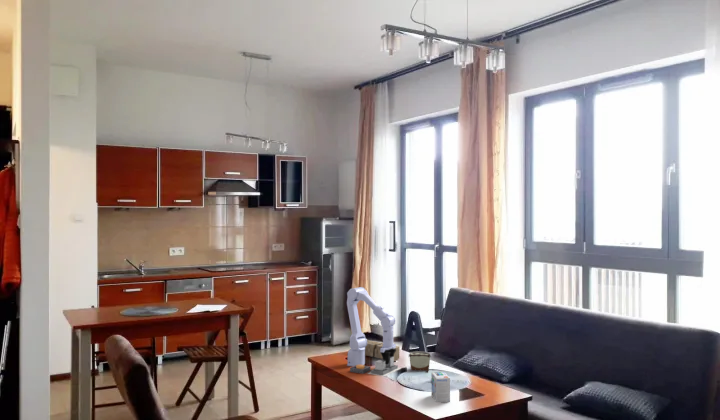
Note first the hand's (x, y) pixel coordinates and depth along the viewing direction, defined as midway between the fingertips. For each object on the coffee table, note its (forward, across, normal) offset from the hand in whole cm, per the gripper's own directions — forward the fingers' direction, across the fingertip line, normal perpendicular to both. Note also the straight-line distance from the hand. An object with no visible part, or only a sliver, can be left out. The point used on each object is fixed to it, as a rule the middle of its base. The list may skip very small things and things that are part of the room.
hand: (388, 363), depth 309 cm
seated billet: (+3, -9, 0) cm, 10 cm away
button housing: (+4, -12, +11) cm, 16 cm away
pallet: (+4, -4, 0) cm, 6 cm away
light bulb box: (+4, -32, -44) cm, 54 cm away
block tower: (+5, +27, +21) cm, 35 cm away
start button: (+3, -12, +11) cm, 16 cm away
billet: (+2, 0, 0) cm, 3 cm away
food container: (+4, +8, -15) cm, 18 cm away
